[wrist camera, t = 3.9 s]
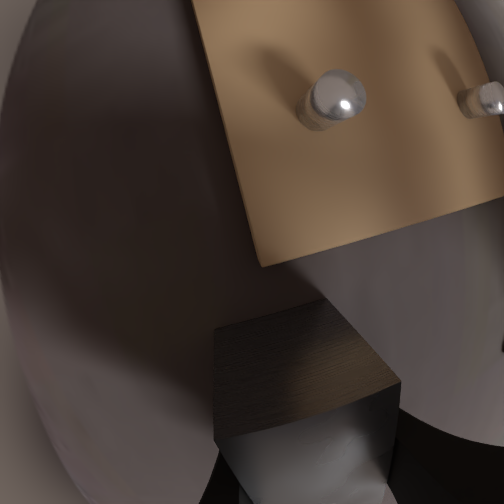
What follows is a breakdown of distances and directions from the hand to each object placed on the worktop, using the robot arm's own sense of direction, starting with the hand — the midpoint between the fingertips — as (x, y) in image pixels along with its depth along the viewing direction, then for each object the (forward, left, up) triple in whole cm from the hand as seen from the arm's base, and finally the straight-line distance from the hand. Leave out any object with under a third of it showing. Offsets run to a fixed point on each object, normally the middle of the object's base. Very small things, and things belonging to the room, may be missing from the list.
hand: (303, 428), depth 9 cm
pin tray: (-6, -13, -2) cm, 14 cm away
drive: (0, 0, -2) cm, 2 cm away
